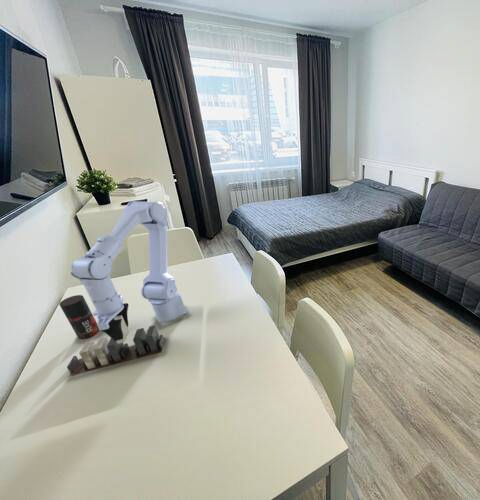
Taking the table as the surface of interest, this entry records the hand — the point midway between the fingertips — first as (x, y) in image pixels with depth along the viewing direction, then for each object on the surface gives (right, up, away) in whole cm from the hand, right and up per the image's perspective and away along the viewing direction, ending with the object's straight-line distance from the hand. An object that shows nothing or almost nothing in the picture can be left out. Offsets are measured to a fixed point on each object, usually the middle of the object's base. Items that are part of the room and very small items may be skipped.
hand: (121, 333), depth 82 cm
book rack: (-2, -9, +3) cm, 10 cm away
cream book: (0, -2, +1) cm, 2 cm away
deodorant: (-21, -5, +13) cm, 25 cm away
